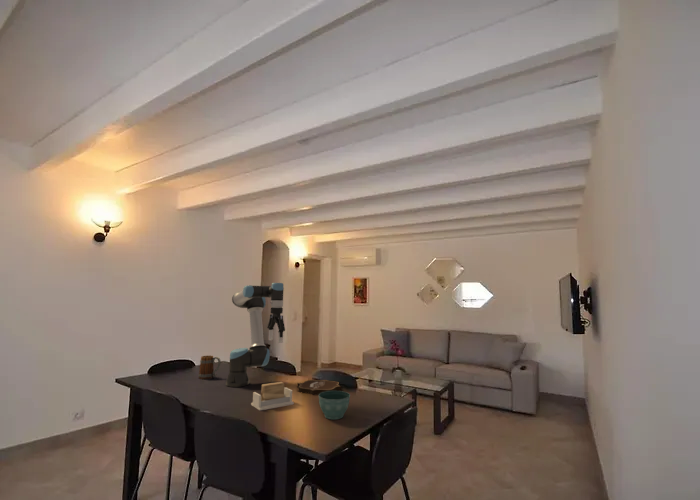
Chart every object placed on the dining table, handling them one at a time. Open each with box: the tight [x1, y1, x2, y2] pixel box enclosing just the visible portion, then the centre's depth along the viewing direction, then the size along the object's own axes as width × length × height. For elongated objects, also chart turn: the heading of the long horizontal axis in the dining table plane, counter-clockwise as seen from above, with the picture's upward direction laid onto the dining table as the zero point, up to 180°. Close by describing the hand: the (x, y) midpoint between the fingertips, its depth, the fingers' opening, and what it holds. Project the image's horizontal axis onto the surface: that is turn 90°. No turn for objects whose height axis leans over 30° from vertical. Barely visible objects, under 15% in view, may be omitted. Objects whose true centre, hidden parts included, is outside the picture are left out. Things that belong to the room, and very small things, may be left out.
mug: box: [197, 355, 221, 380], centre depth 271 cm, size 16×11×15 cm
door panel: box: [260, 381, 285, 401], centre depth 209 cm, size 4×12×10 cm, turn 127°
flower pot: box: [318, 390, 351, 421], centre depth 190 cm, size 16×16×11 cm
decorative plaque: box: [296, 379, 343, 396], centre depth 244 cm, size 30×3×30 cm
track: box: [250, 386, 295, 411], centre depth 208 cm, size 12×20×7 cm, turn 127°
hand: (275, 341), depth 233 cm, fingers open, 13 cm apart
